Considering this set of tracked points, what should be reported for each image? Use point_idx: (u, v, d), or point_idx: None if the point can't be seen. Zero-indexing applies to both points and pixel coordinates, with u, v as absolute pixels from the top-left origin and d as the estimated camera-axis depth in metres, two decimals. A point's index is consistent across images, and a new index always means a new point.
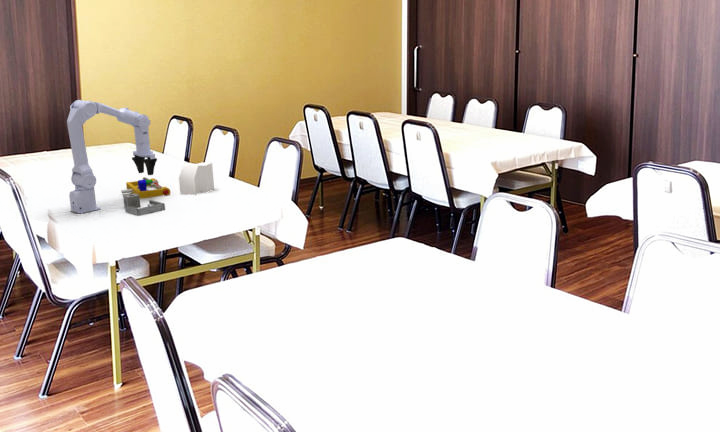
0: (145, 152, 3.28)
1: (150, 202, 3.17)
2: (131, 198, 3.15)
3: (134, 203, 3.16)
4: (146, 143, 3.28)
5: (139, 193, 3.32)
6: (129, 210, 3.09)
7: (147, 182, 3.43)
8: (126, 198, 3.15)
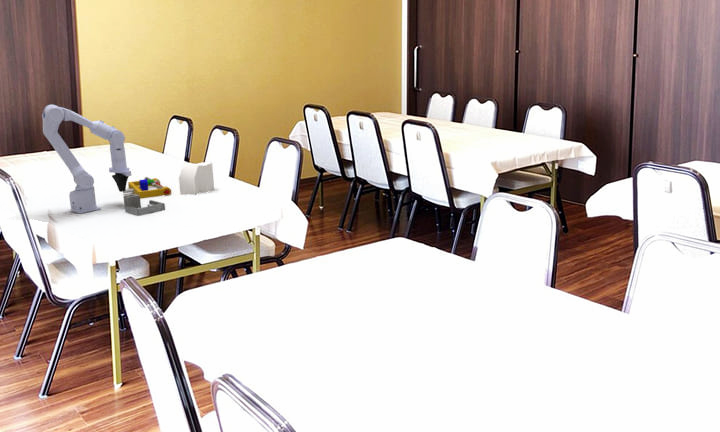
0: (121, 169, 3.17)
1: (150, 202, 3.17)
2: (131, 198, 3.15)
3: (134, 203, 3.16)
4: (122, 160, 3.17)
5: (140, 193, 3.33)
6: (129, 210, 3.09)
7: (148, 182, 3.44)
8: (126, 198, 3.15)
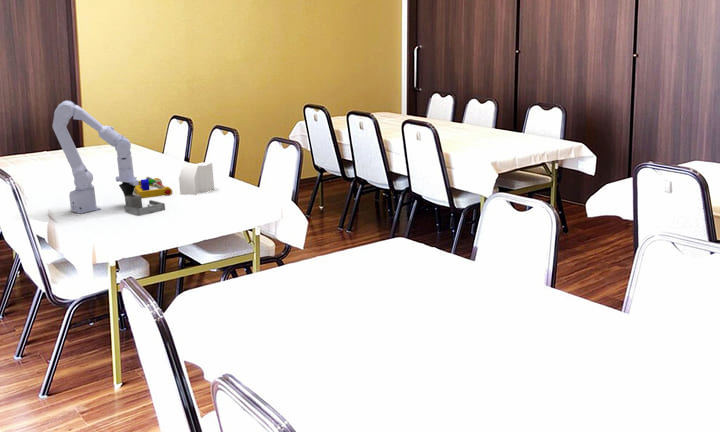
0: (128, 178, 3.15)
1: (150, 202, 3.17)
2: (133, 198, 3.14)
3: (136, 203, 3.15)
4: (129, 169, 3.14)
5: (141, 193, 3.33)
6: (129, 210, 3.09)
7: (150, 182, 3.44)
8: (128, 198, 3.14)
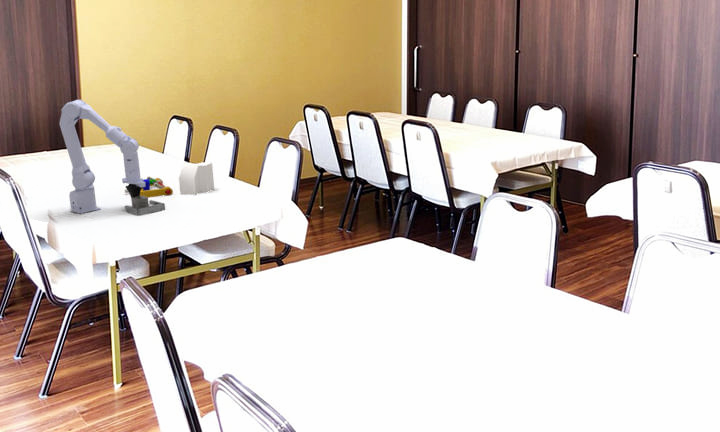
0: (135, 180, 3.11)
1: (150, 202, 3.17)
2: (139, 200, 3.10)
3: (142, 205, 3.11)
4: (136, 170, 3.11)
5: (141, 192, 3.33)
6: (129, 210, 3.09)
7: (150, 182, 3.44)
8: (134, 200, 3.10)
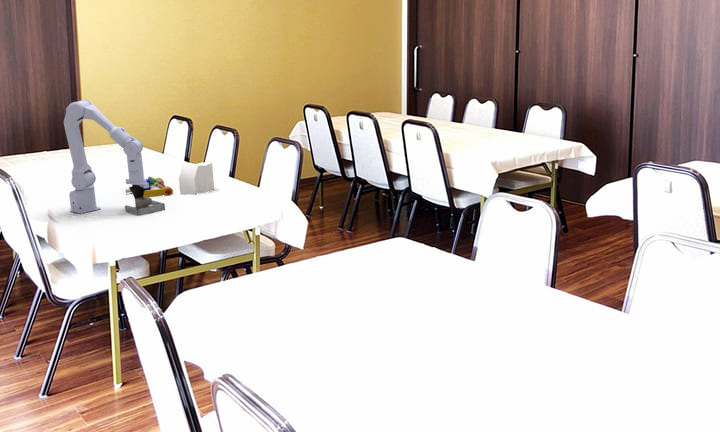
0: (138, 181, 3.09)
1: None
2: (143, 201, 3.08)
3: (146, 206, 3.09)
4: (139, 171, 3.09)
5: None
6: (129, 210, 3.09)
7: (151, 181, 3.44)
8: (138, 201, 3.08)
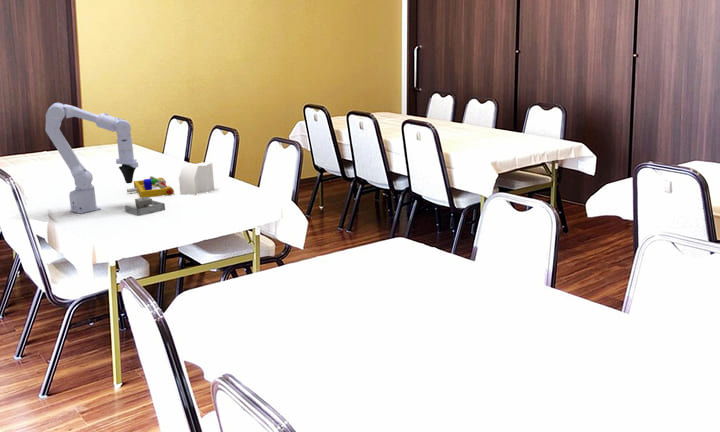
0: (128, 160, 3.13)
1: None
2: (143, 202, 3.08)
3: None
4: (129, 151, 3.13)
5: (142, 192, 3.34)
6: (129, 210, 3.09)
7: (152, 181, 3.45)
8: (138, 202, 3.08)
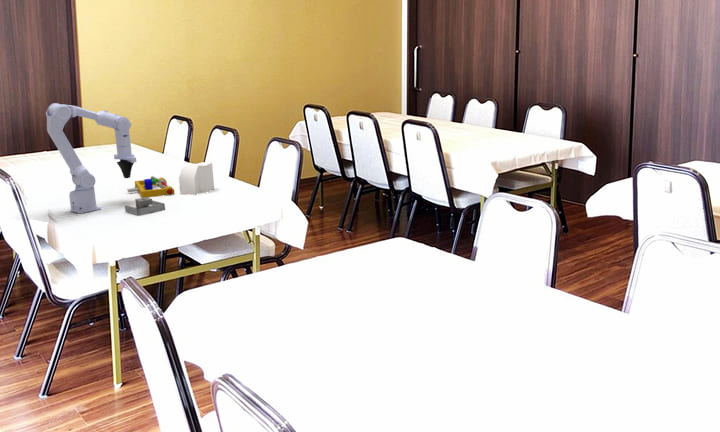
0: (126, 155, 3.20)
1: None
2: (144, 202, 3.08)
3: None
4: (127, 146, 3.20)
5: (143, 192, 3.34)
6: (129, 210, 3.09)
7: (153, 181, 3.45)
8: (138, 202, 3.08)
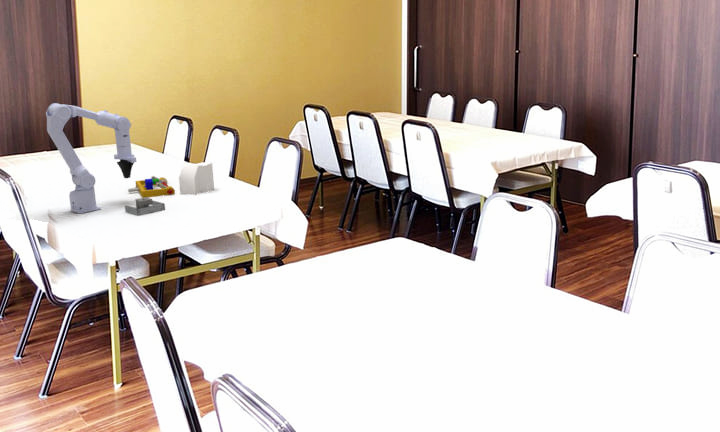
0: (126, 155, 3.20)
1: None
2: (144, 202, 3.07)
3: None
4: (127, 146, 3.20)
5: (143, 192, 3.34)
6: (129, 210, 3.09)
7: (153, 181, 3.45)
8: (139, 202, 3.07)
